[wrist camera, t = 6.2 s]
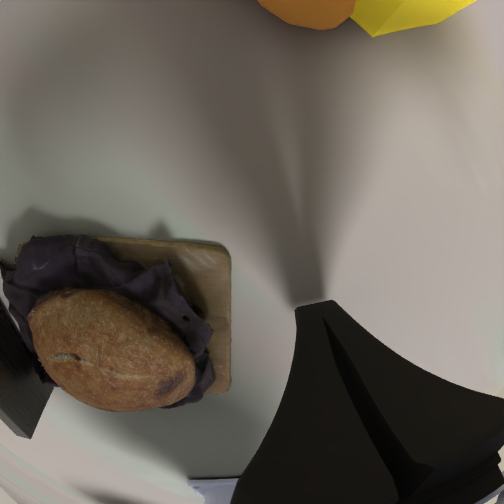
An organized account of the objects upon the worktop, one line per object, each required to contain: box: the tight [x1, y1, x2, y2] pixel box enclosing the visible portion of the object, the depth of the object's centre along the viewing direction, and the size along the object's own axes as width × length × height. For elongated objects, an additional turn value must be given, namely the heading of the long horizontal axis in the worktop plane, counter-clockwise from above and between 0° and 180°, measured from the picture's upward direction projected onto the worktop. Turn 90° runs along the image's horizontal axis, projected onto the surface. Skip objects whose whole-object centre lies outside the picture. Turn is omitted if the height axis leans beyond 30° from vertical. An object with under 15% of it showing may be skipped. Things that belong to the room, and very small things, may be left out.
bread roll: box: [0, 235, 231, 412], centre depth 10 cm, size 11×8×4 cm
